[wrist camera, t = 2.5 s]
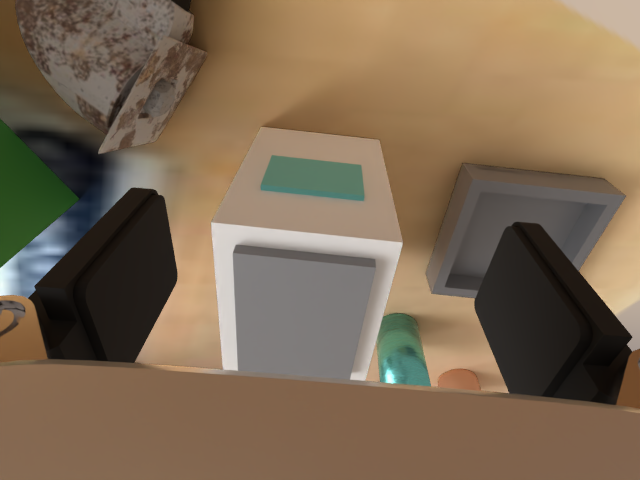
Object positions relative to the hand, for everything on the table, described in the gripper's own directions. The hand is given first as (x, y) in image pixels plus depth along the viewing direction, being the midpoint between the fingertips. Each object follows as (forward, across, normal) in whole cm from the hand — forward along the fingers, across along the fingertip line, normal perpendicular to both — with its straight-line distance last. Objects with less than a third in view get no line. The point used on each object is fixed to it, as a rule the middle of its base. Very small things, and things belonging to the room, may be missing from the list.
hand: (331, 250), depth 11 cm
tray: (+16, -14, +9) cm, 23 cm away
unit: (+16, +1, +7) cm, 18 cm away
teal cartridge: (+17, -8, +20) cm, 28 cm away
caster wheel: (+17, +12, -4) cm, 21 cm away
